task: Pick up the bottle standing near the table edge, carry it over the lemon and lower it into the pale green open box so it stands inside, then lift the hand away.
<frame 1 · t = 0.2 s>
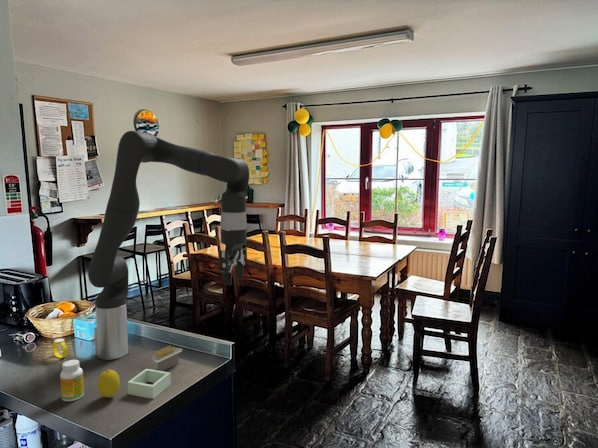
hand: (233, 281, 122), 29 cm above the worktop, tool pointing down, fingers open, 8 cm apart
butter dish: (166, 369, 129), on the worktop
supplement bottle: (73, 397, 112), on the worktop
pale green open box: (149, 389, 116), on the worktop
lemon: (109, 398, 112), on the worktop
watch: (60, 357, 135), on the worktop
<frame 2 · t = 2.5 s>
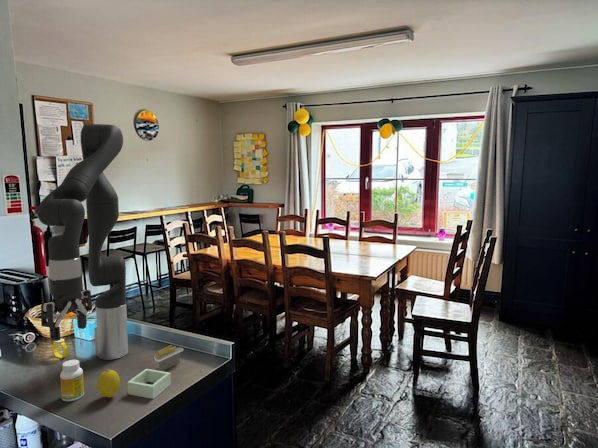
hand: (69, 334, 110), 18 cm above the worktop, tool pointing down, fingers open, 8 cm apart
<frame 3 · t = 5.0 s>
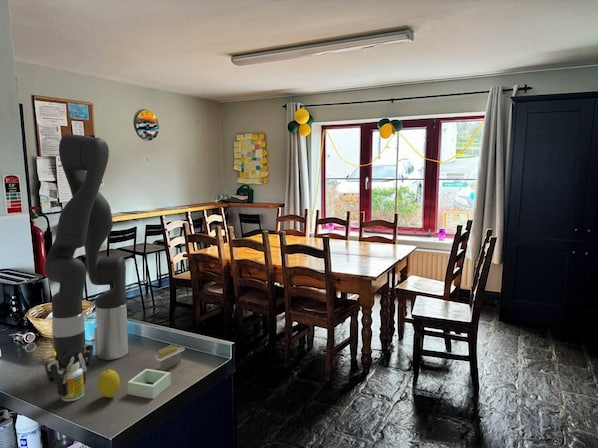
hand: (72, 389, 111), 2 cm above the worktop, tool pointing down, fingers closed on supplement bottle, 5 cm apart
supplement bottle: (73, 397, 112), on the worktop, touching gripper
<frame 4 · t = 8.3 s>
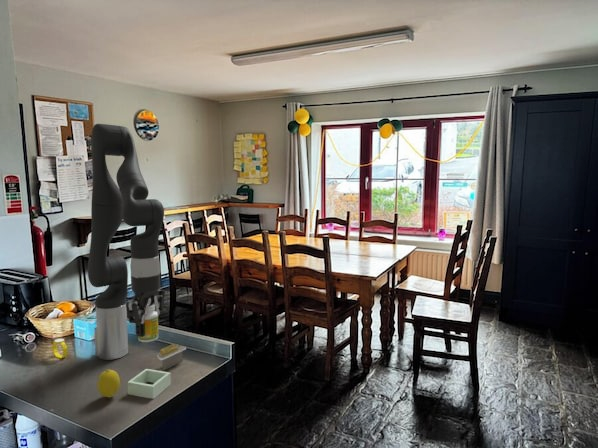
hand: (147, 331, 114), 17 cm above the worktop, tool pointing down, fingers closed on supplement bottle, 5 cm apart
butter dish: (171, 367, 131), on the worktop, touching pale green open box
supplement bottle: (148, 339, 114), point 15 cm above the worktop, touching gripper
everything else where it was.
when the fingers open (4 cm above the worktop, at t = 11.6 s): supplement bottle drops 2 cm, resting in pale green open box.
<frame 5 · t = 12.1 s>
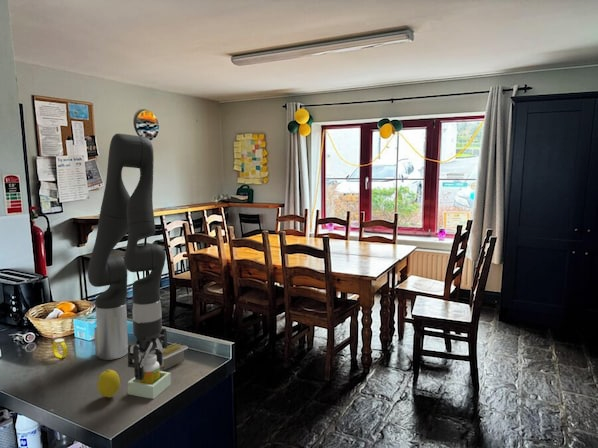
hand: (149, 371, 115), 5 cm above the worktop, tool pointing down, fingers open, 8 cm apart
butter dish: (172, 366, 131), on the worktop
supplement bottle: (150, 389, 116), resting in pale green open box
everything else where it was.
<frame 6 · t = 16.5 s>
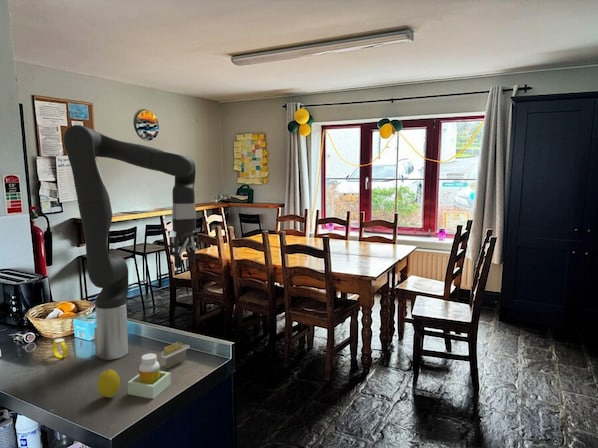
hand: (185, 264, 138), 30 cm above the worktop, tool pointing down, fingers open, 8 cm apart
at the end: supplement bottle 0.1 cm off-centre on the pale green open box, point 0.0 cm above the pale green open box's base; supplement bottle tilted 0°; the gripper is holding nothing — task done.
